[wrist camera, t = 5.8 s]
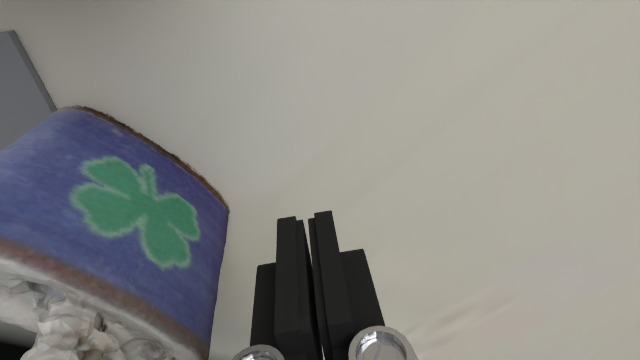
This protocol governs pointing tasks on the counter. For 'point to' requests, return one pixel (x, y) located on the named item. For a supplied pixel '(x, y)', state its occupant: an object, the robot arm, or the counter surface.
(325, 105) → the counter surface
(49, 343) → the blue clover wallet
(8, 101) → the slate board
